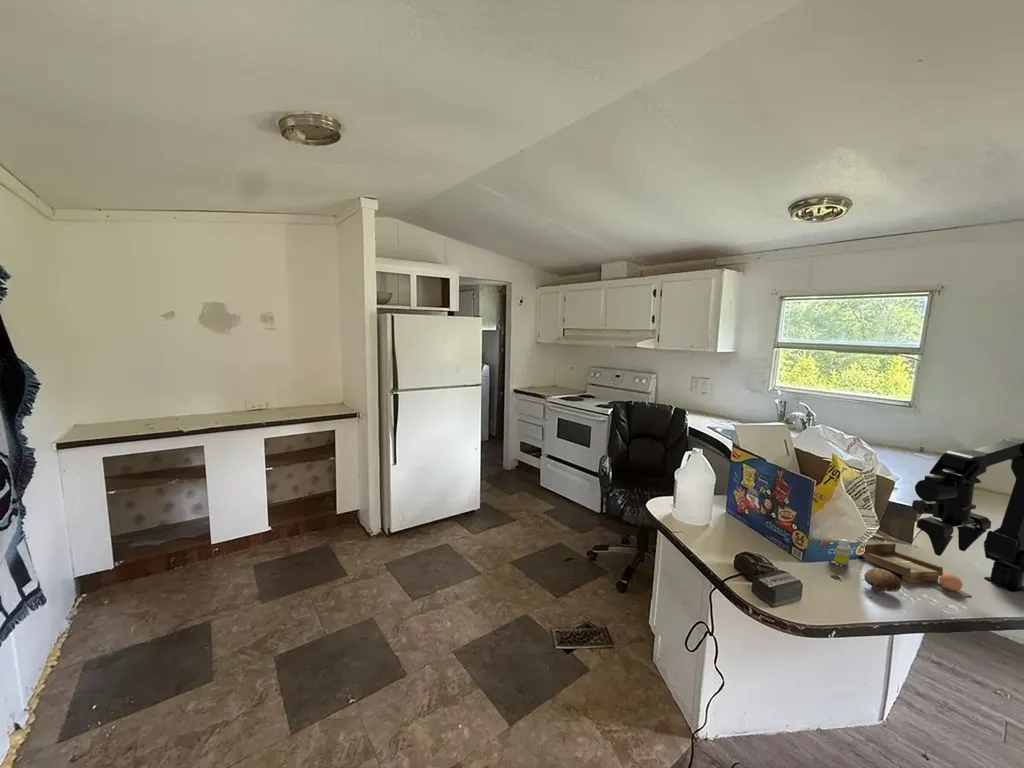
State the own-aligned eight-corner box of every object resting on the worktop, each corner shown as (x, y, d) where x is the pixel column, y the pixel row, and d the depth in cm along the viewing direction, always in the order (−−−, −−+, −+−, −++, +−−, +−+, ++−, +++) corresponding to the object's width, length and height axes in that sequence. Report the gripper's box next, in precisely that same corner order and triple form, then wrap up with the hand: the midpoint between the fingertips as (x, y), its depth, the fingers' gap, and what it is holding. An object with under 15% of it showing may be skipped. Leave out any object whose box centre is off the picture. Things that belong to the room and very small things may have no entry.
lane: (889, 555, 137) (891, 541, 137) (941, 584, 122) (944, 568, 121) (858, 556, 136) (860, 542, 136) (906, 585, 121) (908, 569, 120)
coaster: (947, 584, 122) (947, 582, 121) (971, 597, 116) (971, 595, 116) (928, 584, 121) (928, 583, 121) (951, 598, 115) (951, 596, 115)
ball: (948, 584, 121) (950, 570, 120) (965, 594, 116) (968, 579, 116) (934, 585, 120) (936, 570, 120) (951, 594, 116) (953, 579, 115)
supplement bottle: (829, 557, 135) (832, 532, 134) (848, 563, 132) (851, 537, 131) (828, 564, 131) (831, 538, 130) (848, 569, 128) (851, 543, 127)
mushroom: (854, 584, 121) (857, 563, 120) (883, 585, 120) (886, 564, 120) (877, 601, 113) (880, 579, 112) (908, 603, 112) (912, 580, 112)
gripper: (945, 484, 125) (939, 535, 127) (897, 491, 121) (892, 543, 123) (995, 499, 115) (988, 553, 117) (945, 506, 110) (938, 563, 112)
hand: (949, 552), depth 117 cm, fingers open, 9 cm apart
